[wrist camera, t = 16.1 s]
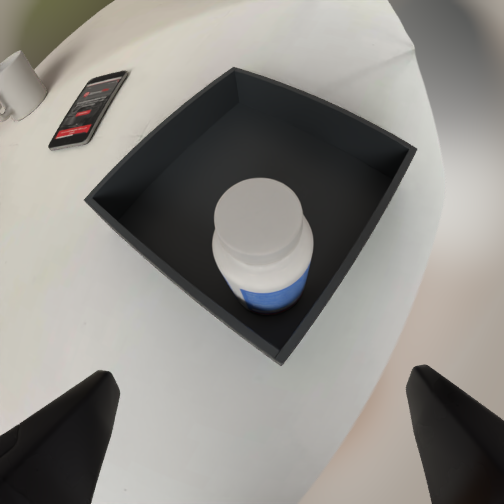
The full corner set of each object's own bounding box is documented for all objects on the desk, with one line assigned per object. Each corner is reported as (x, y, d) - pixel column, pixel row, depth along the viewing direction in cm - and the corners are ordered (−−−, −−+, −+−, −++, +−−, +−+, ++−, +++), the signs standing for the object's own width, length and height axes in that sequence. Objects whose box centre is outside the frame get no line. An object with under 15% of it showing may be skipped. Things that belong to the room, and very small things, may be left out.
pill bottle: (319, 272, 22) (344, 202, 13) (276, 331, 21) (274, 299, 12) (260, 233, 24) (248, 149, 15) (216, 287, 22) (175, 227, 13)
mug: (26, 96, 41) (2, 60, 31) (54, 84, 40) (29, 43, 30) (-2, 140, 36) (-33, 103, 26) (24, 130, 35) (-9, 87, 25)
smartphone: (46, 148, 31) (90, 78, 36) (49, 152, 32) (92, 81, 37) (85, 141, 30) (128, 69, 36) (88, 145, 31) (129, 72, 36)
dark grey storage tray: (399, 183, 25) (417, 148, 21) (281, 366, 20) (282, 365, 16) (239, 102, 31) (233, 66, 26) (111, 227, 26) (83, 199, 21)
